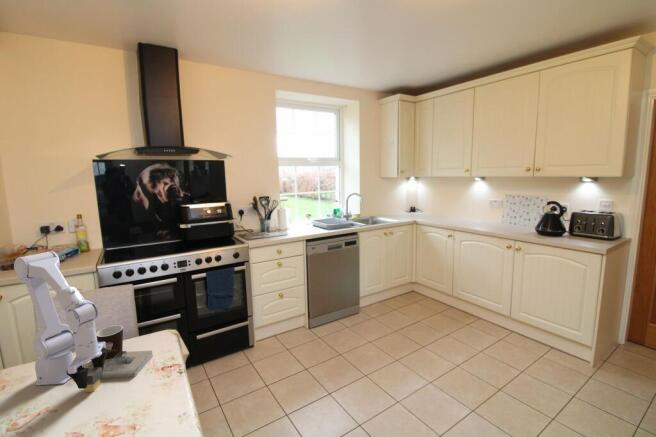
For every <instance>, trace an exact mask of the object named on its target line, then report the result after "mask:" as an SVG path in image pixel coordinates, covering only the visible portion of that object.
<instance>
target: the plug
mask: <svg viewBox="0 0 656 437" xmlns="http://www.w3.org/2000/svg"><path fill="white" fill-rule="evenodd" d="M88 368H89V370H88V374H87V387H86V388H85V389H83V390H84V391H83V392H84V393H89V392H91V393H92V392H95V391H96V390H97V389H98V388H100V386H101V379H100V378H101V377H102V376H103V372H102V367H95V368H93V367H88Z"/></svg>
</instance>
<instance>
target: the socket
mask: <svg viewBox="0 0 656 437" xmlns="http://www.w3.org/2000/svg"><path fill="white" fill-rule="evenodd" d="M153 356H154V355H153V350H137V351H136V350H135V351H127V350H122V351H121V352H119V353H118V354H117V355H116V356H115V357H114V358H113V359H110V360H109V362H108V363H107V364H104V368H103V376H102V377H101V378H100V379H99V380H101V379H117V378H134V377H135V378H136V377H137V375H138V374H140V372H141V371H142V370H143V369H144V368H145V366H147V365H148V362H150V360H151V359H152V358H153Z"/></svg>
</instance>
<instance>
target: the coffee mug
mask: <svg viewBox="0 0 656 437" xmlns="http://www.w3.org/2000/svg"><path fill="white" fill-rule="evenodd" d="M96 335H97V343H99V342H105V343H106V347H105V348H104V349H108V354H107V356H106V359H105V361H107V360H112V359H113V358H114V357H115V356H116V355H117V354H118V353H119V352H121V351H124V350H123V347H124V346H123V344H124V343H123V342H124V338H123V337H124V326H122V325H119V324H117V325H111V326H107V327H104V328H101V329H100V330H98V331H96Z"/></svg>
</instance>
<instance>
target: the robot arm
mask: <svg viewBox="0 0 656 437" xmlns="http://www.w3.org/2000/svg"><path fill="white" fill-rule="evenodd" d="M60 263H61V262H60V257H59V255H58V254H57V253H56V252H55V251H53V250H50V251H47V252H41V253H35V254H30V255H26V256H18V257H16V258H15V261H14V264H13V269H14V272H15V275H16V277H17V280H18V282H19V283H20V284H25V286H26V288H27V291H28V294H29V297H30V299H31V303H32V305H33V308H34V311H35V313H36V317H37V320H38V323H39V326H40V328H41V330H40V331H39V332H38V333H37V334H36V335H35V337H34V338H33V345H34V347H33V349H34V352H35V355H36V356H37V358H36V361H35V364H34V370H35V376H36V381H37V382H36V383H35V386H46V385H62V384H63V385H64V384H65V383H68V381H70V379H72V380H73V382H75V385H76V386H77V388H78V389H79V390H81V389H82V390H84V389H85V388H86V387H87V374H88V370H89V368H90V367H85V366H83V365H85V364H86V363H88V362H91V364H92V366H93V367H92V368H95V367H102V372H103V368H104V366H105V362H106V356H107V354H108V349H104V348H105V347H106V343H105V342H99V343H98V341H97V335H96V333H97V330H96V320H95V319H97V318H98V316H99V311H98V310H99V309H98V308H97V306H96V304H95V303H94V302H93V301H90V300H89V299H88V300H87V299H85V298H84V296H83V295H82V294H81V293H80V291H79V290H78V288H76V287H75V286H70V285H69V282H68V281H67V280H66V278H65V276H64V275H63V273H62V272H61V270H60V267H61V264H60ZM49 286H50V288H51V289H52V290H53V291H54V292H55V293H56V295H55V297H54V299H55V300H56V301H57V303H58V305H60V307H61V309H63V311H64V313H65V319H66V322H67V324H64V323H62V322H61V320H60V316H59V315H58V312H57V308H56V305H55V303H54V302H55V301H54V300H53V297H52V294H51V292H50V288H49ZM73 350H75V357H74V358H73V353H72V351H73Z"/></svg>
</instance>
